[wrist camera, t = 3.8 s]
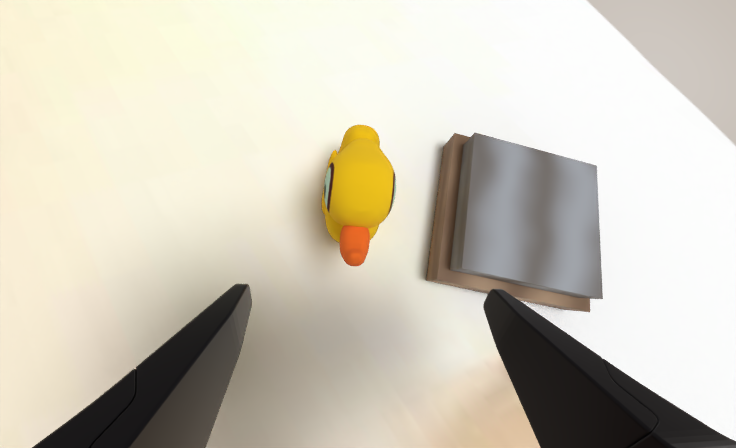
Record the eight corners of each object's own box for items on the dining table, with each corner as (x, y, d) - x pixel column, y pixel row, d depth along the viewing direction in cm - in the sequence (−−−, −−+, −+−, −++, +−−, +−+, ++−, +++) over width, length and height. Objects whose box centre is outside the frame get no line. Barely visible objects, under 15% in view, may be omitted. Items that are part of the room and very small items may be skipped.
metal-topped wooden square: (426, 280, 24) (447, 278, 19) (443, 146, 27) (465, 120, 23) (564, 309, 25) (614, 314, 21) (563, 178, 29) (605, 158, 24)
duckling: (375, 276, 23) (409, 267, 14) (314, 270, 23) (304, 257, 13) (383, 160, 26) (415, 85, 16) (329, 152, 25) (330, 70, 16)
